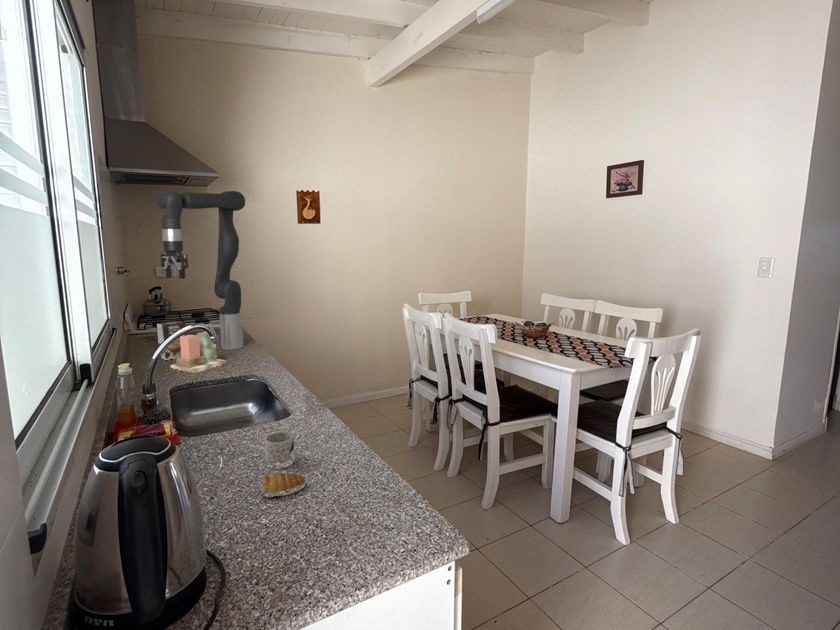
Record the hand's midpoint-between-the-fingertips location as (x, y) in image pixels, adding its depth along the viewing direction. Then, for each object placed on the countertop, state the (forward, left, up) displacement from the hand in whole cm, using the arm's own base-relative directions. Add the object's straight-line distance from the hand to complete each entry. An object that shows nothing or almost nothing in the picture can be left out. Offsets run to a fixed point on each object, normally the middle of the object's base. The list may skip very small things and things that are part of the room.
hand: (175, 278), depth 207 cm
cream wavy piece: (+4, +16, -36) cm, 40 cm away
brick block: (+8, +16, -32) cm, 36 cm away
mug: (+54, +106, -36) cm, 124 cm away
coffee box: (0, -6, -36) cm, 37 cm away
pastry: (+64, +116, -37) cm, 138 cm away
